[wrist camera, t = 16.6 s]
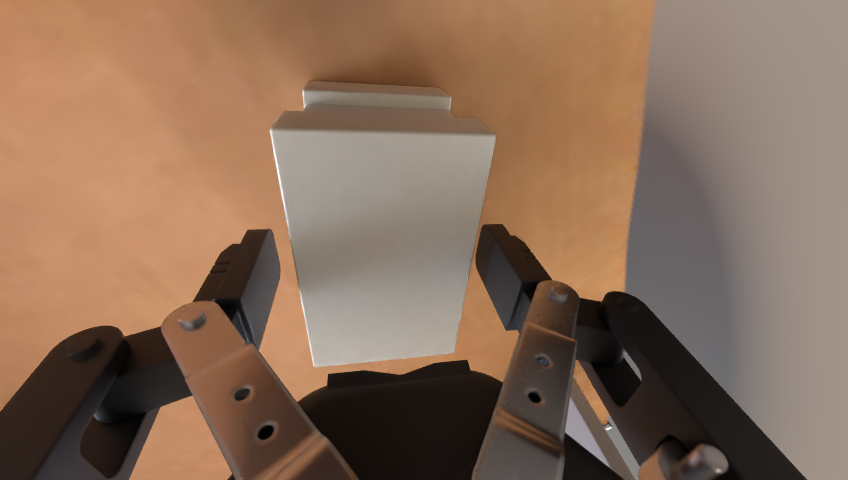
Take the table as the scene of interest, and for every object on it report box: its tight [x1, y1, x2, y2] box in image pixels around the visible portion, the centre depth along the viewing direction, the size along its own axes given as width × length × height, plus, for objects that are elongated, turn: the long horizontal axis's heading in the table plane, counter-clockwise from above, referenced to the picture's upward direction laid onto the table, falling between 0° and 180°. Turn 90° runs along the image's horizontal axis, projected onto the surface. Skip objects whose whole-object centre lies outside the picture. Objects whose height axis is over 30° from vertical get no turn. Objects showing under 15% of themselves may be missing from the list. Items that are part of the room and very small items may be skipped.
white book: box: [270, 111, 496, 367], centre depth 12 cm, size 10×6×2 cm, turn 175°
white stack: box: [302, 81, 454, 117], centre depth 15 cm, size 10×5×4 cm, turn 175°
